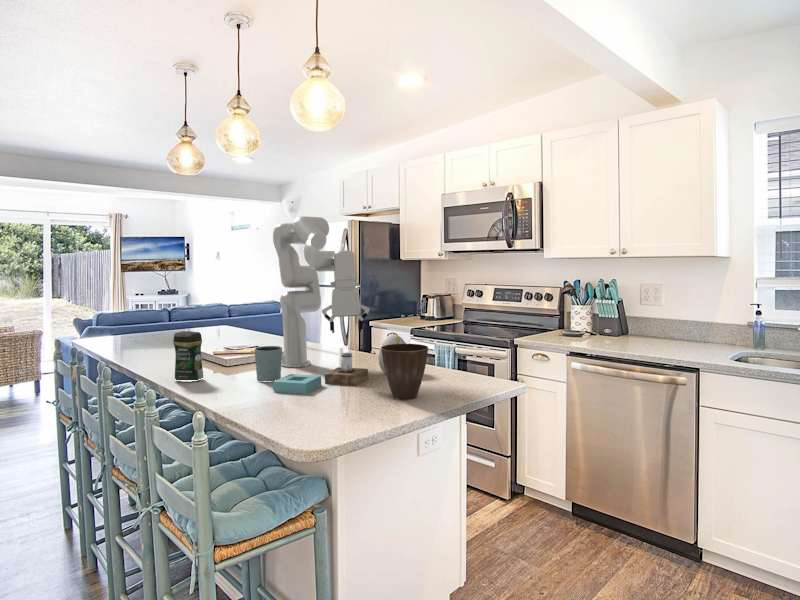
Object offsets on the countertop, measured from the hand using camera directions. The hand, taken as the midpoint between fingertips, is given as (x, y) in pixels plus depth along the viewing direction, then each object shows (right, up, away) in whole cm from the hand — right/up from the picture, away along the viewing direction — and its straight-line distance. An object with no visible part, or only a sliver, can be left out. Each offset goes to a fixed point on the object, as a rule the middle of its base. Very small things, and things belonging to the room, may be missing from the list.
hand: (346, 332), depth 183 cm
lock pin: (0, -18, +2) cm, 18 cm away
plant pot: (+21, -19, -22) cm, 36 cm away
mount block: (0, -18, +2) cm, 18 cm away
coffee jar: (-59, -19, +6) cm, 62 cm away
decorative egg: (+17, -17, +14) cm, 28 cm away
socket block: (-16, -19, -9) cm, 26 cm away
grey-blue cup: (-29, -18, +5) cm, 35 cm away
